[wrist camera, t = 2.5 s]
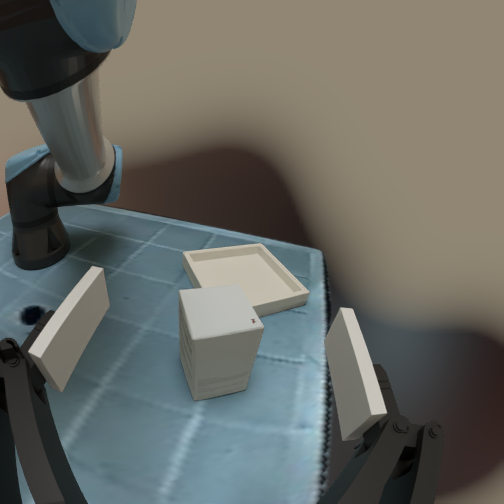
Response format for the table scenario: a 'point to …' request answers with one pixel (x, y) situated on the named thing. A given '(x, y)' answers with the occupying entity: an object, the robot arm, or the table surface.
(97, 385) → the table surface
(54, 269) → the table surface
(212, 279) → the tray
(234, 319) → the supplement box
